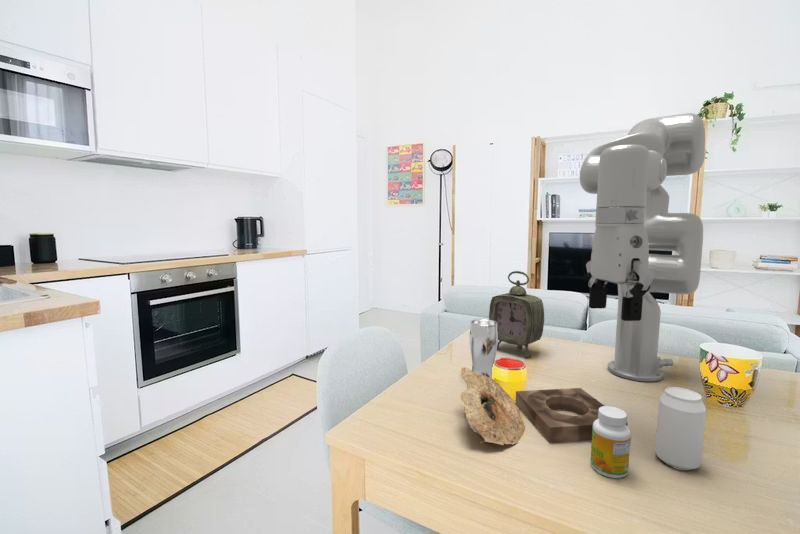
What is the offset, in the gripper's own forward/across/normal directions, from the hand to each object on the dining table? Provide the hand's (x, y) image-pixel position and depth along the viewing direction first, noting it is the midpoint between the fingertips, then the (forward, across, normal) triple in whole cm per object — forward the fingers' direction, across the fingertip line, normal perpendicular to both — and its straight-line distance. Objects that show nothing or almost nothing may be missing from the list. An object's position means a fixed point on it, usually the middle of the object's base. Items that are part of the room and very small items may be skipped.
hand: (612, 313), depth 70 cm
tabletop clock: (+23, +47, -1) cm, 53 cm away
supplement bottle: (+24, -9, +5) cm, 26 cm away
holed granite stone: (+24, +5, +20) cm, 32 cm away
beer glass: (+23, +27, +16) cm, 39 cm away
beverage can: (+24, -8, -7) cm, 26 cm away
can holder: (+23, +6, +4) cm, 24 cm away
